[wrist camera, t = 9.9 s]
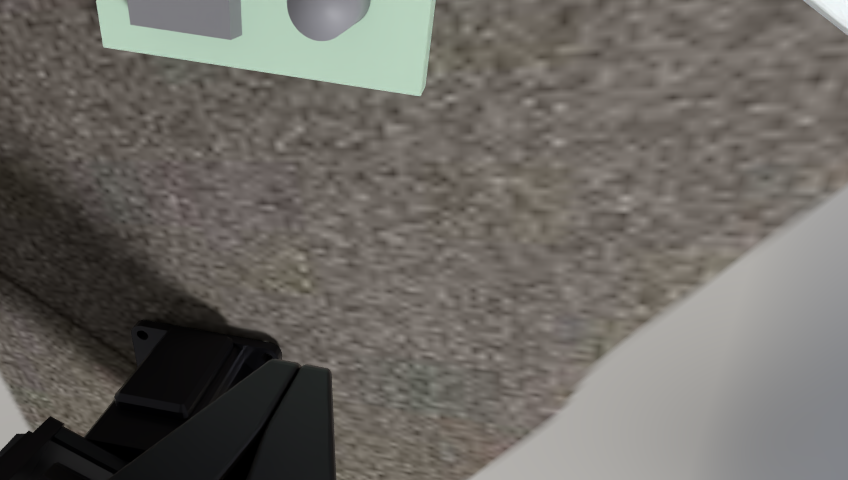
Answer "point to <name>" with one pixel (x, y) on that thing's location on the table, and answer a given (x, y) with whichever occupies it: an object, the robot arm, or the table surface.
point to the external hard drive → (832, 11)
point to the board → (284, 37)
